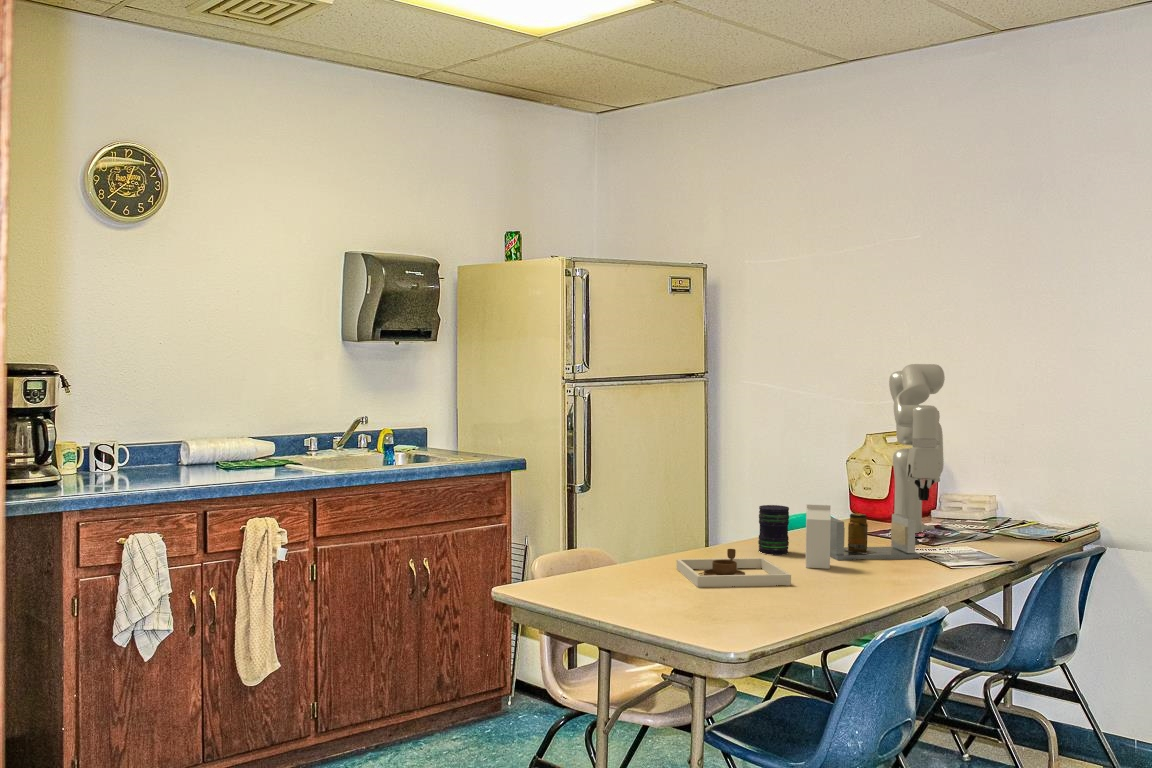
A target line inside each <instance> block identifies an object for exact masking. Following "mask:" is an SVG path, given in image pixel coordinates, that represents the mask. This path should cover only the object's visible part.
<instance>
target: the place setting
mask: <svg viewBox="0 0 1152 768" xmlns="http://www.w3.org/2000/svg"><path fill="white" fill-rule="evenodd" d="M726 553H727V558H729V559H730V560H714V561H713V562H712V569H704V571H703V572H700V573H698V574H699V575H702V574H703V576H711V575H746V572H744V571H742V570H741V569H737V562H735V561H733V559H734V558H736V549H735V548H728V549H727V551H726Z"/></svg>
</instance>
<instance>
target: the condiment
mask: <svg viewBox="0 0 1152 768" xmlns="http://www.w3.org/2000/svg"><path fill="white" fill-rule="evenodd" d="M868 524H869V523H868V522H867V515H866V514H864V513H856V512H855V513H854V512H853V513H850V514H849V522H848V526H847V528H848V529H847V530H848V533H847V547H848V549H846V550H844V551H849V552H856V553H863V554H867V553H873V552H876V551H870V550H867V547H868V532H869V531H868V527H869V526H868Z"/></svg>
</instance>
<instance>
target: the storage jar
mask: <svg viewBox="0 0 1152 768" xmlns="http://www.w3.org/2000/svg"><path fill="white" fill-rule="evenodd" d="M758 507H759V508H758V509H759V511H758V523H759V535H758V541H757V542H758V552H759V551H760V552H762V553H766V554H765V555H767V554H773V555H772V556H783V555H782V554H785V555H788V554H789V544H790V542H789V539H790V538H789V524H790V520H789V519H790V512H789V510H790V508H789V506H785V505H777V504H767V505H765V504H763V505H760V506H758ZM762 553H761V554H762ZM787 553H788V554H787Z"/></svg>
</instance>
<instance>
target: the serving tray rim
mask: <svg viewBox="0 0 1152 768" xmlns="http://www.w3.org/2000/svg"><path fill="white" fill-rule="evenodd" d="M714 560H730V559H729V558H728V557H727V558H680V559H679V558H676V570H677V571H678V572H679V571H680V572H681V573H680V572H679V573H680V574H682V575H683V576H684V577H685V578H686V579H687V580H688V581H690V582H691V583H692V584H693V585H694V586H695V587H697V588H719V587H720V588H725V587H726V588H727V587H730V588H731V587H732V586H733V587H734V586H735V587H767V586H768V587H771V586H773V587H777V586H778V585H786V586H791V585H792V574H791V573H789V572H788V571H786V570H784V569H783V568H781V567H779V566H778V565H776V564H774V563H773V562H770V561H769V560H767V559H765V558H764V557H746V558H745V557H744V558H743V557H741V558H740V557H739V558H737V557H735V558H734V559H733V561H735V562H737V568H756V569H761V568H762V569H761V570H763V569H764V570H765V571H764V570H763V571H764V572H765V573H767V572H768V573H767V574H745V575H711V576H704V575H701V574H699V573H698V572H696V571H695V570H693V569H699V570H708V569H712V562H713V561H714ZM776 585H777V586H776Z"/></svg>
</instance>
